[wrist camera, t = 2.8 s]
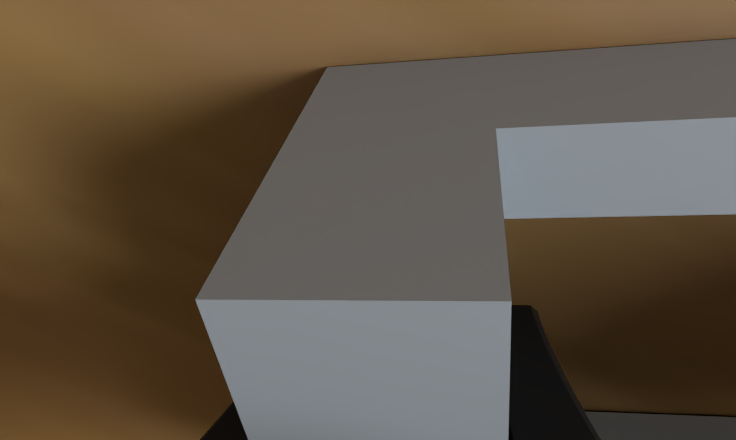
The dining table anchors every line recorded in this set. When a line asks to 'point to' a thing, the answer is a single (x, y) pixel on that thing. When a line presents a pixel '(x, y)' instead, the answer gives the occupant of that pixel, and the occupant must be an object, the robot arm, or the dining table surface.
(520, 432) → the robot arm
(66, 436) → the dining table surface
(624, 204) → the gray rectangular open frame
